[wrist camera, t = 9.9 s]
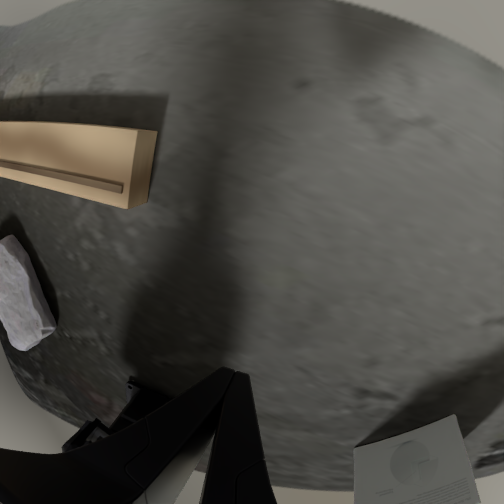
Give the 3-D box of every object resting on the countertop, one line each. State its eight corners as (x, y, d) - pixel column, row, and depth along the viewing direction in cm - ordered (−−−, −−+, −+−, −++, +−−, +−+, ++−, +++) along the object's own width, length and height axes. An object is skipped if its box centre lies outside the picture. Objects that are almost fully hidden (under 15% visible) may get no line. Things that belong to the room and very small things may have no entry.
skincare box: (367, 474, 26) (365, 554, 16) (352, 446, 25) (349, 539, 15) (458, 445, 22) (476, 523, 13) (456, 411, 21) (481, 502, 11)
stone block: (26, 220, 27) (-12, 263, 29) (-3, 229, 22) (-37, 275, 24) (80, 313, 30) (36, 343, 31) (58, 333, 25) (15, 362, 26)
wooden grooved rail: (146, 202, 21) (113, 214, 17) (-23, 163, 24) (-49, 168, 21) (157, 131, 19) (123, 130, 16) (-20, 121, 23) (-47, 124, 19)
